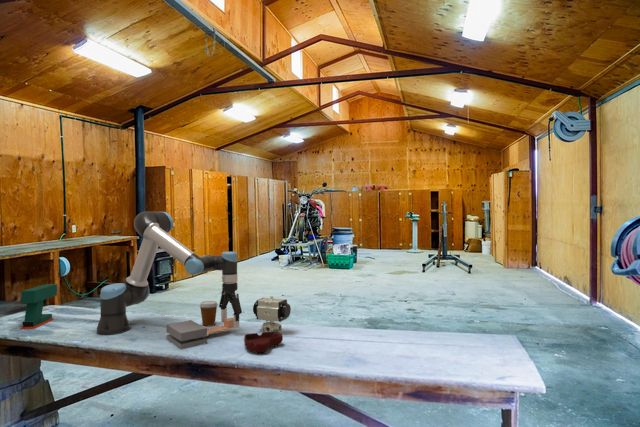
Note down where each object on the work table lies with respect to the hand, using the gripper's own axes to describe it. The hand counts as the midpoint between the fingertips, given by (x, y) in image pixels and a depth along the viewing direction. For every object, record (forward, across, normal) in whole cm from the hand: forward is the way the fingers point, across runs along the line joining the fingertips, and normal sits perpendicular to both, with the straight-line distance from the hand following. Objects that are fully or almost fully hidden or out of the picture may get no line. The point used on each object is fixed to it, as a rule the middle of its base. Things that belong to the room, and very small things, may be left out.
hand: (230, 324), depth 201 cm
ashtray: (+4, +30, -1) cm, 30 cm away
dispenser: (+4, 0, -22) cm, 22 cm away
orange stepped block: (+1, 0, -6) cm, 6 cm away
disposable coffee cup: (+4, -20, -2) cm, 21 cm away
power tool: (+4, -89, -70) cm, 113 cm away
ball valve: (+4, +14, +16) cm, 21 cm away
